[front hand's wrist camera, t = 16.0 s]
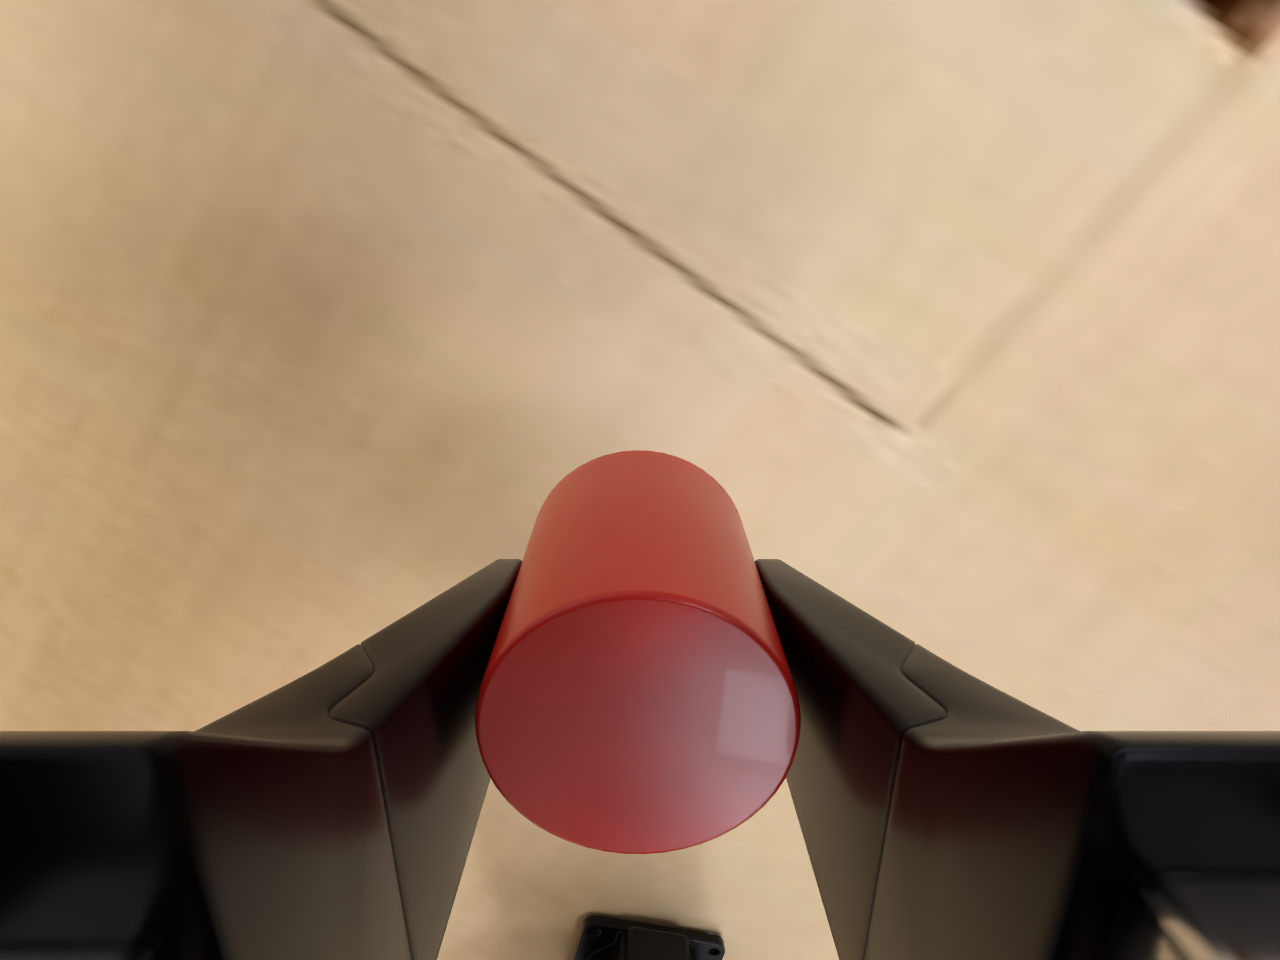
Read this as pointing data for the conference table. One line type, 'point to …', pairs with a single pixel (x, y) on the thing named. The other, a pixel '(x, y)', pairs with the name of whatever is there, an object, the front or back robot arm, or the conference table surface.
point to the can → (638, 665)
